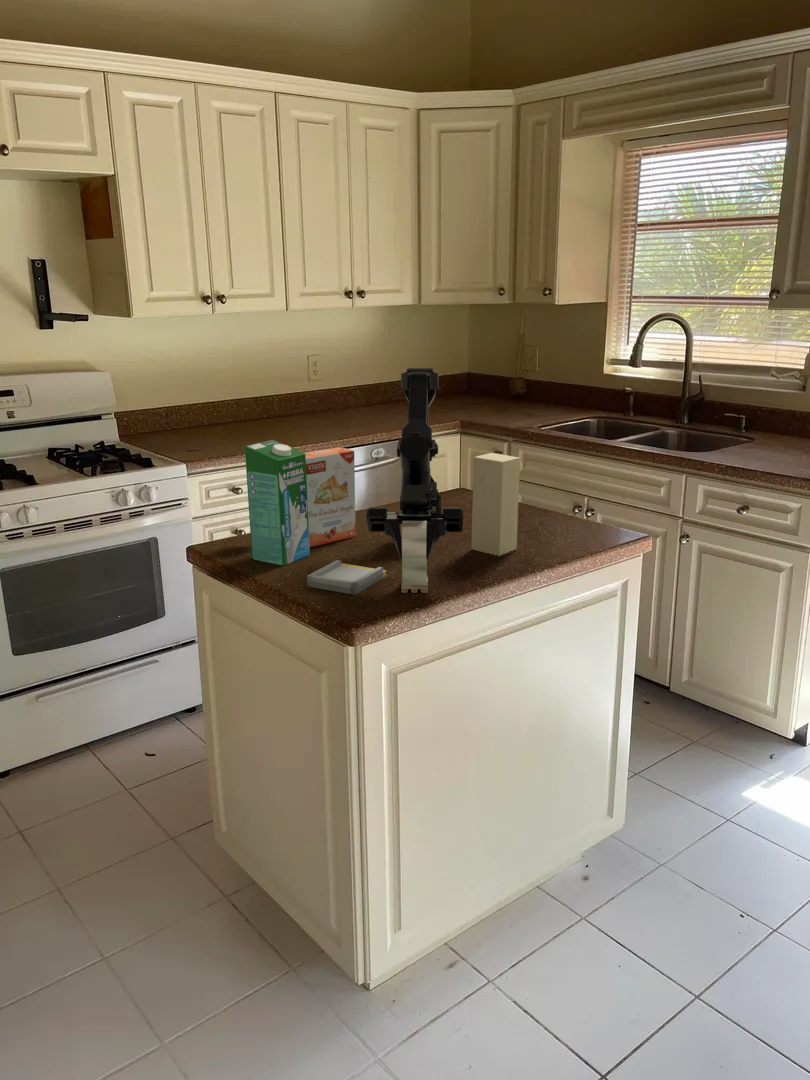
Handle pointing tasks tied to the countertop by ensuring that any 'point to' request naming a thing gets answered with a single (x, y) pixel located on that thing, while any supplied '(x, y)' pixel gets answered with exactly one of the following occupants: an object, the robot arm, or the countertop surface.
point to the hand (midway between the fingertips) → (414, 558)
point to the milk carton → (277, 502)
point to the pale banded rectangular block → (414, 556)
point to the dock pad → (345, 577)
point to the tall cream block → (495, 503)
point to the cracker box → (330, 495)
